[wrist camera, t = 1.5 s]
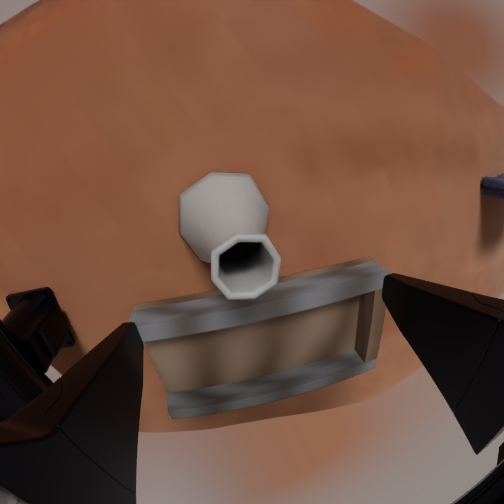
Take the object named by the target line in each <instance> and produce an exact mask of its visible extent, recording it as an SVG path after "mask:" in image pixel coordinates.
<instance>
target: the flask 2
mask: <svg viewBox="0 0 504 504" xmlns="http://www.w3.org/2000/svg"><path fill="white" fill-rule="evenodd" d="M480 182H481V184H480V188H481V192H482V193H484V194H485V195H492V196H496V197H499V198H502V199H504V174H502V175H494V177H492V176H490V177H488V176H483V178H482V180H481V181H480Z"/></svg>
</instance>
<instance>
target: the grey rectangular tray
mask: <svg viewBox="0 0 504 504" xmlns="http://www.w3.org/2000/svg"><path fill="white" fill-rule="evenodd" d="M388 274H390V271H389V270H388V269H386V268H385V267H383V266H382V265H380V264H379V263H377V262H376V261H375V260H373V259H372V258H370V257H366V258H362V259H358V260H353V261H349V262H345V263H341V264H336V265H332V266H328V267H323V268H319V269H314V270H310V271H305V272H301V273H296V274H292V275H287V276H282V277H279V280H278V284H277V285H276V286H274V287H273V288H271V289H270V290H268V291H267V292H265V293H264V294H262V295H261V296H259V297H258V298H256V299H247V300H227V298H226V297H225V296H224V295H223V294H222V292H221V291H220V290H214V291H208V292H203V293H198V294H192V295H187V296H182V297H176V298H171V299H165V300H159V301H154V302H148V303H142V304H136V305H134V306H133V309H132V312H131V315H130V318H129V322H134V323H135V324H136V326H137V328H138V331H139V333H140V336H141V338H142V341H143V342H145V345H146V347H147V349H148V352H149V354H150V356H151V358H152V361H153V363H154V365H155V367H156V369H157V371H158V373H159V376H160V378H161V380H162V382H163V384H164V386H165V388H166V390H167V392H168V412H169V414H170V416H171V417H172V419H177V418H186V417H194V416H201V415H208V414H214V413H220V412H226V411H231V410H237V409H242V408H246V407H251V406H256V405H260V404H264V403H269V402H273V401H277V400H280V399H284V398H288V397H292V396H295V395H299V394H302V393H306V392H309V391H312V390H315V389H319V388H322V387H325V386H328V385H331V384H334V383H337V382H339V381H342V380H345V379H348V378H350V377H353V376H356V375H358V374H361V373H364V372H366V371H369V370H371V369H374V368H375V364H376V359H377V354H378V350H379V344H380V339H381V334H382V328H383V322H384V315H385V309H386V305H385V304H384V302H383V300H382V287H383V279H384V277H385V276H386V275H388Z"/></svg>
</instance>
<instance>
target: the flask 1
mask: <svg viewBox="0 0 504 504" xmlns="http://www.w3.org/2000/svg"><path fill="white" fill-rule="evenodd" d="M268 213H269V203H268V202H267V200H266V199H265V197H264V196H263V194H262V192H261V191H260V189H259V188H258V186H257V185H256V183H255V181H254V180H253V178H252V177H251V175H250V174H244V173H222V172H210V173H209V174H208V175H206V176H205V177H203V178H202V179H200V180H199V181H197V182H196V183H195V184H193V185H192V186H190V187H189V188H188V189H186V190H185V191H183V192H182V193H181V194H179V233H180V234H181V236H182V237H183V238H184V240H185V241H186V242H187V244H188V245H189V246H190V247H191V249H192V250H193V251H194V252H195V254H196V255H197V256H198V258H199V259H200V260H201V261H204V262H208V263H211V280H212V282H213V283H214V284H215V285H216V286H217V288H218V289H219V290H220V291H221V292H222V294H223V295H224V296H225V297H226V298H227V300H247V299H256V298H258V297H259V296H261V295H262V294H264V293H265V292H267V291H268V290H270V289H271V288H273V287H274V286H276V285H277V284H278V280H279V272H280V264H281V257H280V255H279V254H278V252H277V251H276V249H275V248H274V246H273V245H272V243H271V242H270V240H269V239H268V237H267V236H266V235H267V224H268Z"/></svg>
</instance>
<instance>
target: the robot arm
mask: <svg viewBox="0 0 504 504" xmlns="http://www.w3.org/2000/svg"><path fill="white" fill-rule="evenodd" d="M46 292H47V293H48V294H47V293H46ZM382 300H383V302H384V304H385V305H386V307H387V309H388V310H389V312H390V314H391V316H392V317H393V319H394V321H395V323H396V325H397V326H398V328H399V330H400V331H401V333H402V334H403V336H404V337H405V338H406V340H407V341H408V343H409V344H410V346H411V347H412V349H413V350H414V352H415V353H416V355H417V356H418V358H419V359H420V361H421V362H422V364H423V365H424V367H425V368H426V370H427V371H428V373H429V374H430V376H431V377H432V379H433V381H434V382H435V384H436V385H437V387H438V388H439V390H440V392H441V393H442V395H443V397H444V398H445V400H446V402H447V403H448V405H449V407H450V408H451V410H452V412H453V413H454V416H455V417H456V419H457V421H458V422H459V424H460V426H461V428H462V430H463V431H464V433H465V435H466V437H467V439H468V440H469V443H470V445H471V446H472V448H473V450H474V452H475V453H476V454H479V453H480V452H481V451H482V450H483V449H484V448H486V447H487V446H488V445H489V444H490V443H491V442H492V441H493V440H494V439H496V438H497V437H498V436H499V435H500V434H501V433H502V432H503V431H504V300H502V299H498V298H493V297H489V296H485V295H480V294H476V293H473V292H468V291H465V290H461V289H457V288H453V287H449V286H445V285H441V284H437V283H433V282H429V281H425V280H421V279H417V278H412V277H408V276H404V275H400V274H396V273H392V274H388V275H386V276H385V277H384V279H383V287H382ZM6 301H7V303H8V305H9V308H10V310H11V311H10V312H9V313H8V314H7V315H6V317H5V318H4V319H3V320H2V321H1V319H0V504H136V466H137V465H136V464H137V445H138V431H139V418H140V408H141V398H142V389H143V350H144V346H143V341H142V338H141V336H140V333H139V331H138V328H137V326H136V324H135V323H134V322H127V323H123V324H121V325H120V326H119V327H118V328H117V329H115V330H114V331H113V332H112V333H111V334H109V335H108V336H107V337H106V338H105V339H104V340H102V341H101V342H100V343H99V344H98V345H97V346H95V347H94V348H93V349H92V350H91V351H90V352H88V353H87V354H86V355H85V356H84V357H83V358H82V359H80V360H79V361H78V362H77V363H76V364H75V365H74V366H72V367H71V368H70V369H69V370H68V371H67V372H66V373H65V374H63V375H62V376H61V378H59V379H58V380H57V381H55V382H54V383H53V382H52V381H51V380H50V379H49V378H48V377H47V376H46V375H45V374H44V373H46V372H47V370H48V368H49V366H50V364H51V362H52V360H53V358H55V357H56V356H57V354H58V352H59V350H60V348H63V347H72V346H73V345H74V343H75V340H74V338H73V336H72V334H71V333H70V331H69V328H68V326H67V324H66V322H65V320H64V318H63V316H62V313H61V311H60V309H59V307H58V305H57V303H56V300H55V298H54V296H53V293H52V291H51V289H50V288H48V287H44V288H39V289H34V290H29V291H24V292H19V293H14V294H9V295H8V296H7V297H6ZM69 341H70V342H69ZM452 504H504V442H503V443H502V445H501V446H500V447H499V454H498V461H497V466H496V467H495V468H494V469H493V470H492V471H491V472H490V473H489V474H488V475H486V476H485V477H484V478H483V479H482V480H481V481H480V482H478V483H477V484H476V485H475V486H474V487H472V488H471V489H470V490H469V491H467V492H466V493H465V494H464V495H462V496H461V497H460V498H458V499H457V500H456V501H454V502H453V503H452Z"/></svg>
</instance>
